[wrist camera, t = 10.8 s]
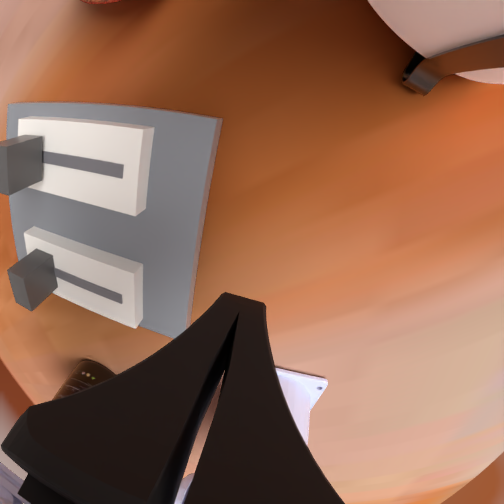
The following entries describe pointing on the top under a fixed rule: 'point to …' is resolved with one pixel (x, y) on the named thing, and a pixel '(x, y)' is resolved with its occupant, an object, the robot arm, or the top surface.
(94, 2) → the pot
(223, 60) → the top surface
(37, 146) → the gray slider knob
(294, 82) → the top surface
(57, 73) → the top surface
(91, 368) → the supplement bottle
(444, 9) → the coffee press
